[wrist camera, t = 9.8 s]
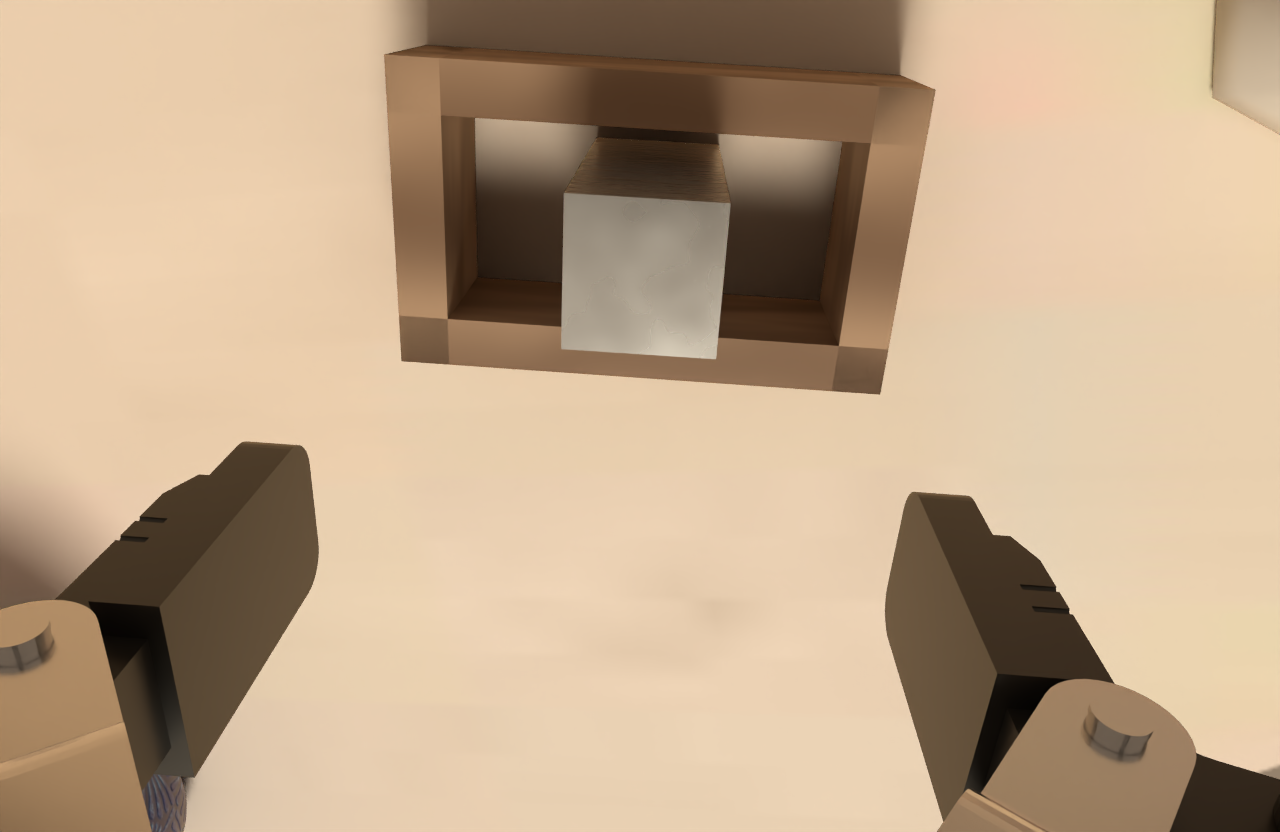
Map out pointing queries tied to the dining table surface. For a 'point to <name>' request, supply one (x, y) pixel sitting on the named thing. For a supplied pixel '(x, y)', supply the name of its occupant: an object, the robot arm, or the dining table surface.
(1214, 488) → the dining table surface
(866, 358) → the rectangular wooden frame
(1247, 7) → the flask
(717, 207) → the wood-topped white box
